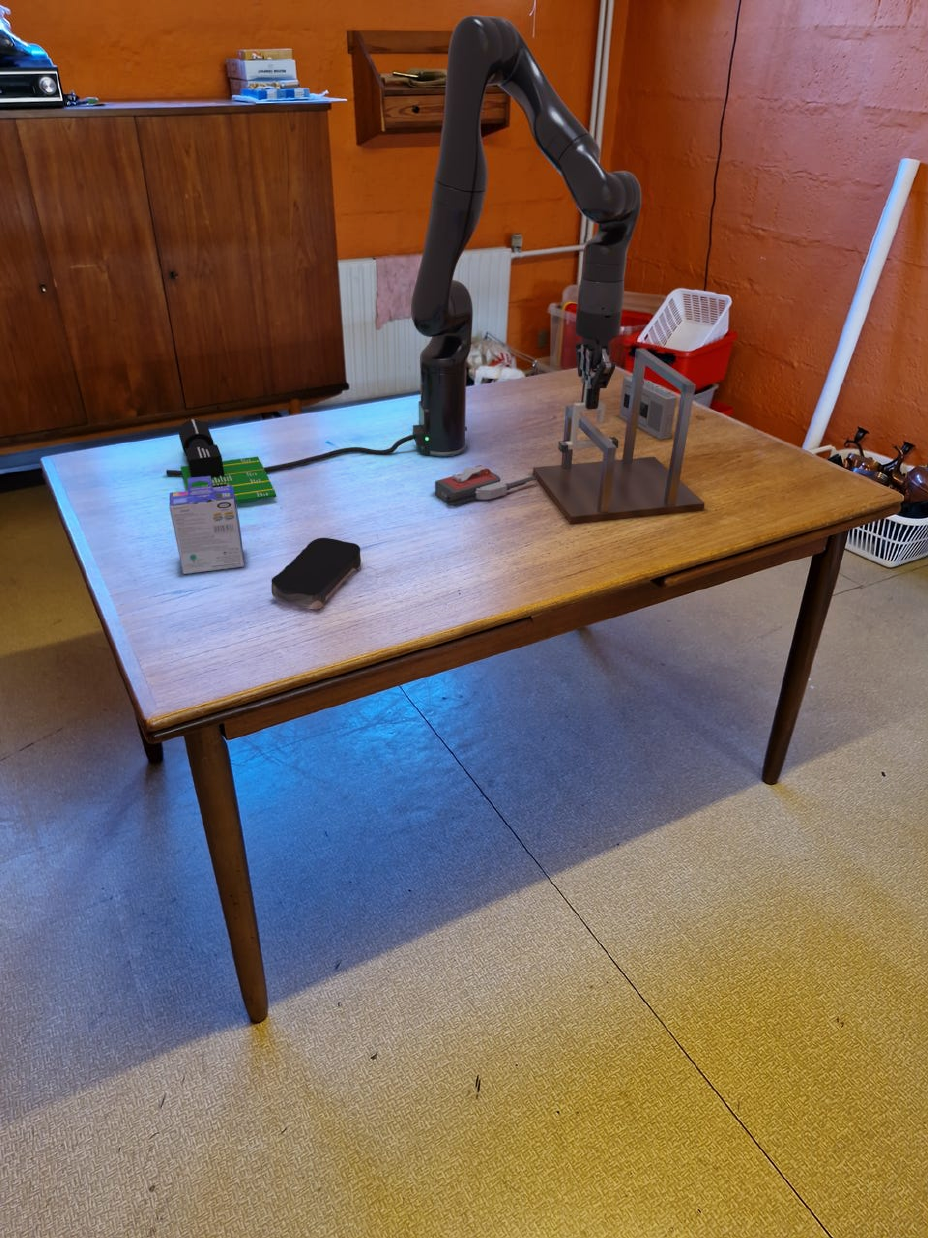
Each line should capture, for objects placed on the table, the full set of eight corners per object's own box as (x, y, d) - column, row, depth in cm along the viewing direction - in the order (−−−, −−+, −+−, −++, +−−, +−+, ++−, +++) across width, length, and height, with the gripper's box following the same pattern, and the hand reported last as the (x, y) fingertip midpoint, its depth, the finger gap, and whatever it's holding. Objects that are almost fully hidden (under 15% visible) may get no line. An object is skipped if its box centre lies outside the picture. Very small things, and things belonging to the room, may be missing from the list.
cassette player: (618, 416, 197) (623, 373, 191) (628, 414, 198) (633, 371, 192) (660, 439, 185) (667, 394, 179) (670, 437, 186) (677, 392, 180)
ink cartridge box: (243, 551, 141) (231, 470, 133) (246, 567, 137) (233, 484, 129) (181, 559, 139) (165, 477, 131) (182, 575, 135) (165, 491, 127)
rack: (570, 524, 151) (582, 393, 138) (532, 474, 169) (540, 353, 156) (703, 510, 156) (727, 382, 143) (653, 463, 174) (670, 345, 161)
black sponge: (319, 554, 141) (317, 535, 139) (365, 563, 138) (364, 544, 136) (267, 604, 128) (264, 583, 126) (317, 615, 126) (315, 594, 124)
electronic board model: (273, 468, 153) (186, 480, 148) (277, 502, 157) (193, 515, 152) (245, 412, 176) (169, 421, 171) (249, 444, 180) (175, 453, 175)
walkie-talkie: (454, 513, 154) (538, 486, 164) (454, 490, 152) (540, 465, 162) (427, 495, 160) (510, 471, 170) (427, 473, 158) (511, 450, 167)
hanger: (561, 452, 154) (567, 384, 147) (558, 448, 156) (563, 380, 149) (618, 448, 157) (626, 380, 150) (613, 443, 158) (622, 377, 151)
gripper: (564, 297, 147) (556, 395, 156) (593, 317, 136) (583, 421, 145) (605, 295, 148) (595, 392, 158) (637, 315, 137) (623, 418, 147)
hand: (589, 406), depth 152 cm, fingers closed on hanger, 1 cm apart
